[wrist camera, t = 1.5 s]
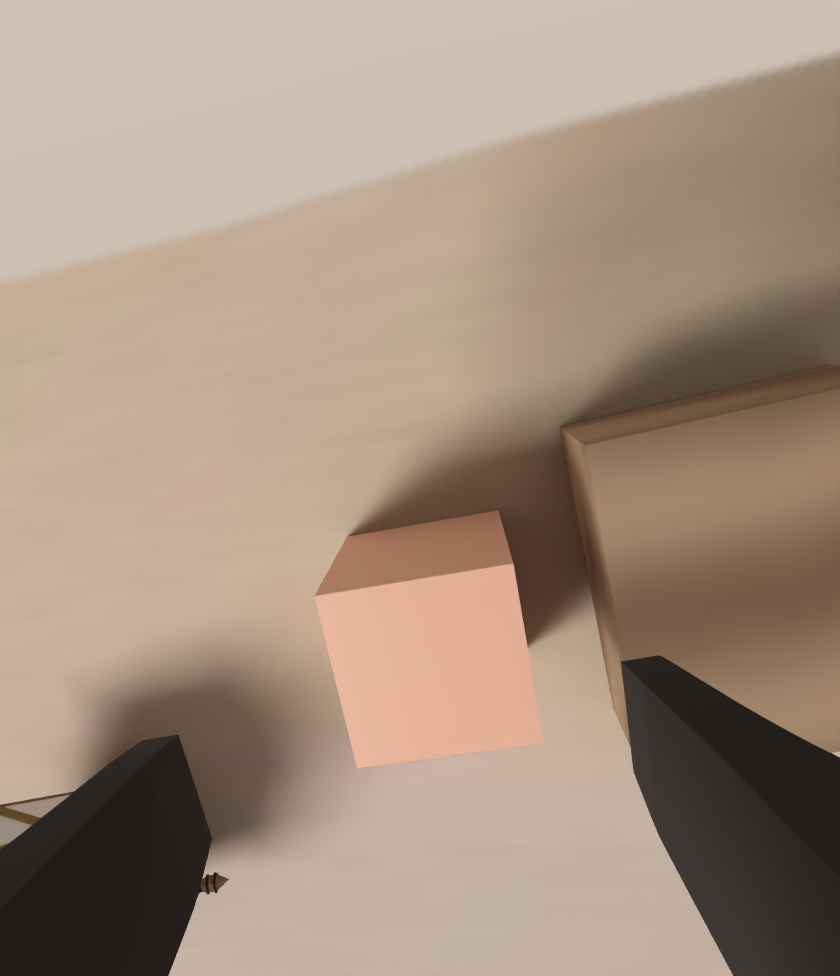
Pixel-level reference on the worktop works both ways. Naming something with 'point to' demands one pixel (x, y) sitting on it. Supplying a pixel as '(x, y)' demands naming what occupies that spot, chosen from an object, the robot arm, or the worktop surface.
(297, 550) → the worktop surface
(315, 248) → the worktop surface
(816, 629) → the walnut block
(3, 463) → the worktop surface
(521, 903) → the worktop surface
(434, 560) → the terracotta cube
